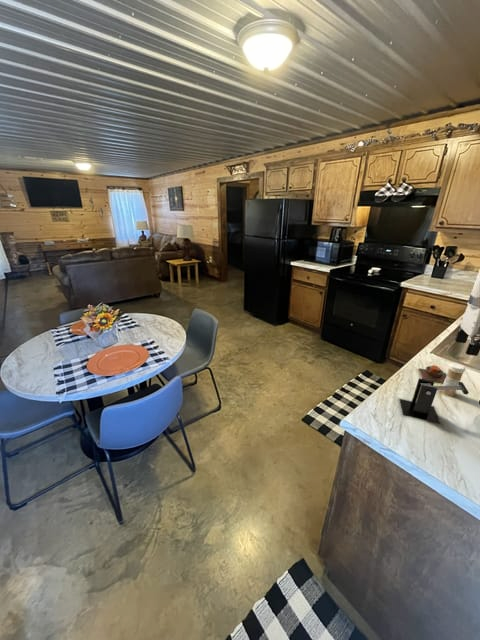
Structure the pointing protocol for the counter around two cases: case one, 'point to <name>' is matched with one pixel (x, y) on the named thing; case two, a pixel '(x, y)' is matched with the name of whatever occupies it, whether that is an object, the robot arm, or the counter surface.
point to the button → (435, 369)
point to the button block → (432, 375)
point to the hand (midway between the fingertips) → (465, 348)
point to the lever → (450, 387)
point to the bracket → (421, 403)
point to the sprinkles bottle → (453, 377)
